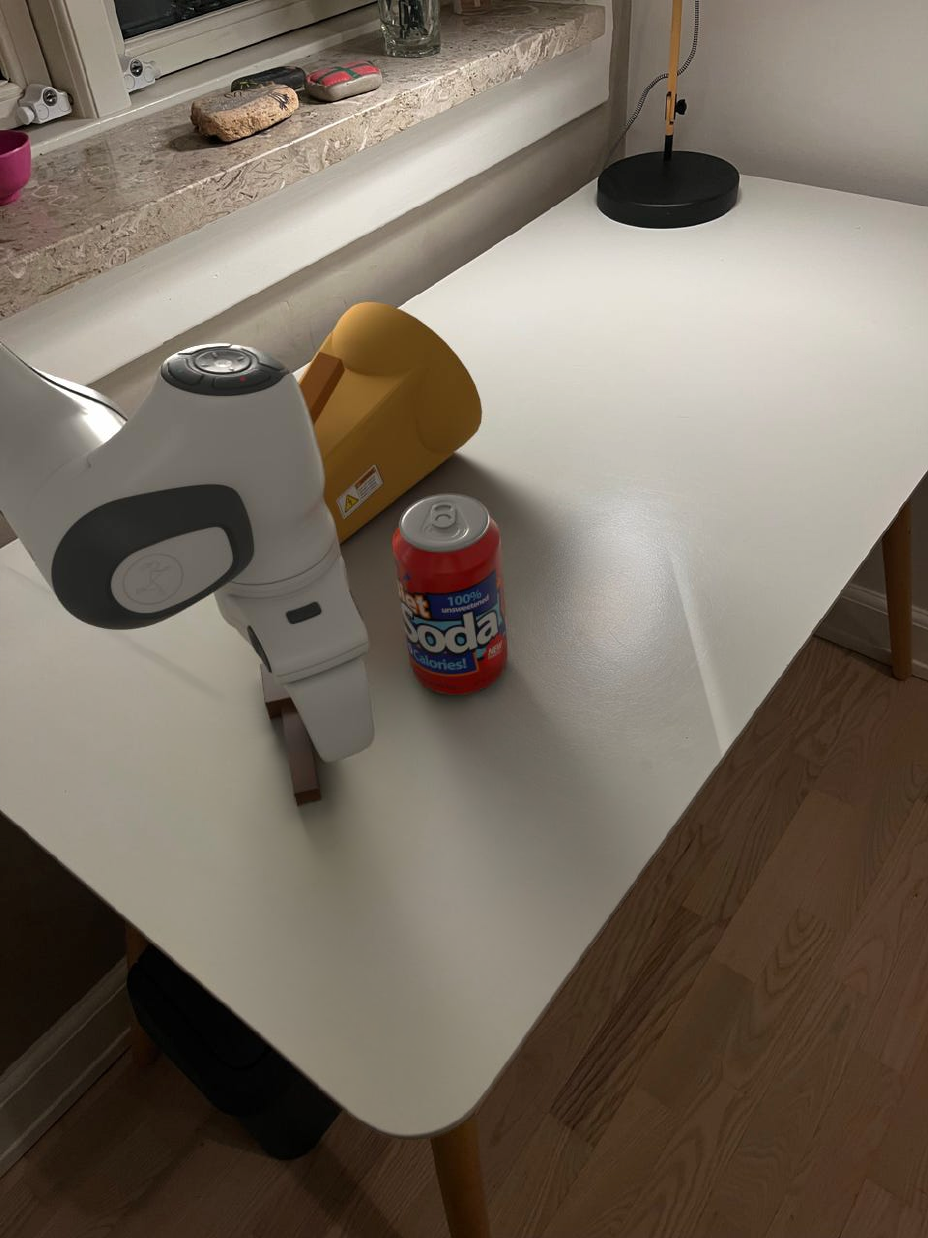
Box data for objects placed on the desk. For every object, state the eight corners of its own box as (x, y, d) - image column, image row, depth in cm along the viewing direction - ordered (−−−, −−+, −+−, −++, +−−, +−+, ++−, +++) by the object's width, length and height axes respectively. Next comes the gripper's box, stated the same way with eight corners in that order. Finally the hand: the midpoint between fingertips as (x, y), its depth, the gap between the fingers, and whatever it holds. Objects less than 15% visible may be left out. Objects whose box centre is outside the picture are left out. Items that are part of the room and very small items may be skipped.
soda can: (505, 629, 86) (497, 482, 76) (510, 699, 80) (502, 550, 70) (412, 635, 86) (390, 490, 76) (410, 705, 80) (387, 558, 70)
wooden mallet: (336, 796, 75) (332, 779, 73) (282, 809, 74) (276, 792, 73) (313, 670, 84) (309, 652, 83) (264, 680, 83) (259, 663, 82)
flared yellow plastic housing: (369, 413, 111) (317, 278, 97) (497, 460, 103) (460, 320, 89) (251, 545, 104) (175, 419, 90) (379, 606, 96) (318, 478, 82)
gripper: (191, 507, 75) (234, 641, 85) (281, 687, 61) (320, 823, 71) (273, 480, 77) (306, 615, 86) (378, 649, 63) (404, 786, 73)
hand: (313, 710), depth 78 cm, fingers closed
